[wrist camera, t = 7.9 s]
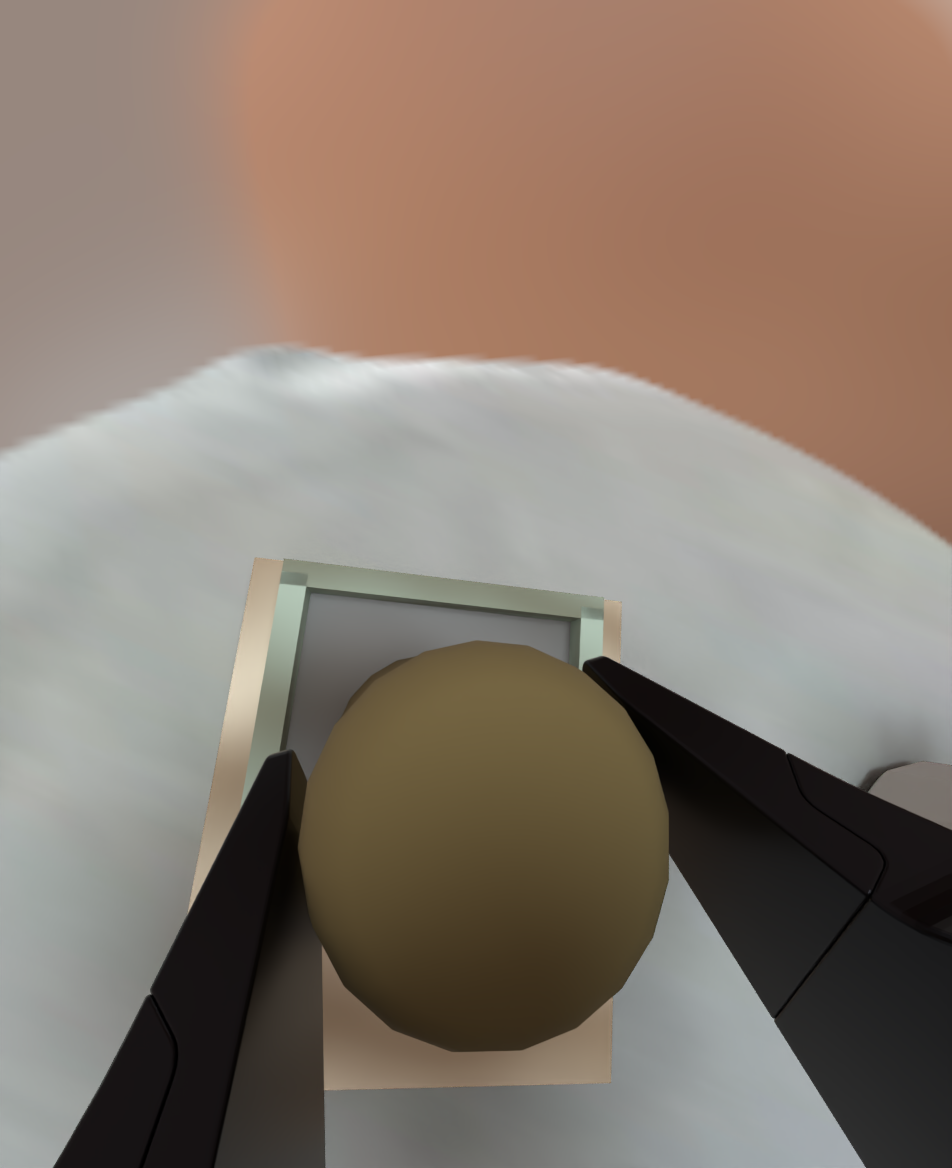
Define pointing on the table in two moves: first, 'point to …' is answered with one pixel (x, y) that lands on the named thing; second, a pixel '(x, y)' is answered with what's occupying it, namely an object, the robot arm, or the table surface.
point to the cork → (484, 846)
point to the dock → (304, 722)
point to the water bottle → (919, 790)
